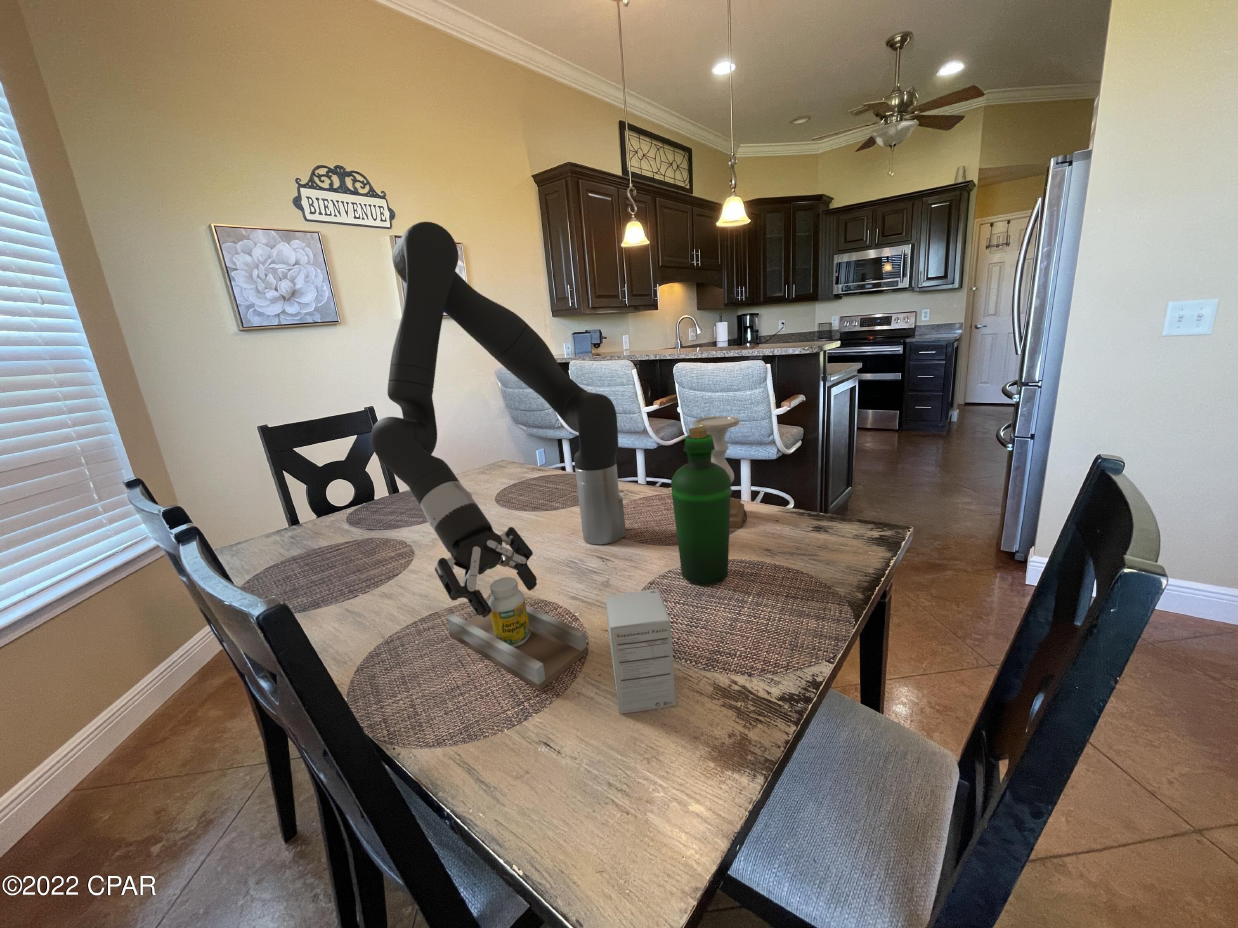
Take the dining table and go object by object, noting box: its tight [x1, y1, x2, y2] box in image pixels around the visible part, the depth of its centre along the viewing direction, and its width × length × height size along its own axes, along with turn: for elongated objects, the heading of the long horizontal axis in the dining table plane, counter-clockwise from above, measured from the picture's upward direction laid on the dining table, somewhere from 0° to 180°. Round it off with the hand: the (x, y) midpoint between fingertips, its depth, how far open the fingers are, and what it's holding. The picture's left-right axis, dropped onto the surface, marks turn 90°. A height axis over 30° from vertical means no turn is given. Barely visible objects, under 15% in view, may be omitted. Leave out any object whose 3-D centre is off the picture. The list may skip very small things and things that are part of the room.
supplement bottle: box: [488, 576, 530, 647], centre depth 73 cm, size 5×5×10 cm
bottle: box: [670, 426, 732, 586], centre depth 85 cm, size 11×11×28 cm
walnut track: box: [446, 592, 588, 692], centre depth 74 cm, size 22×9×4 cm, turn 50°
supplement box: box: [605, 588, 677, 715], centre depth 61 cm, size 7×7×13 cm
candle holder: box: [693, 416, 745, 529], centre depth 111 cm, size 11×11×24 cm
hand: (511, 600), depth 72 cm, fingers open, 8 cm apart
